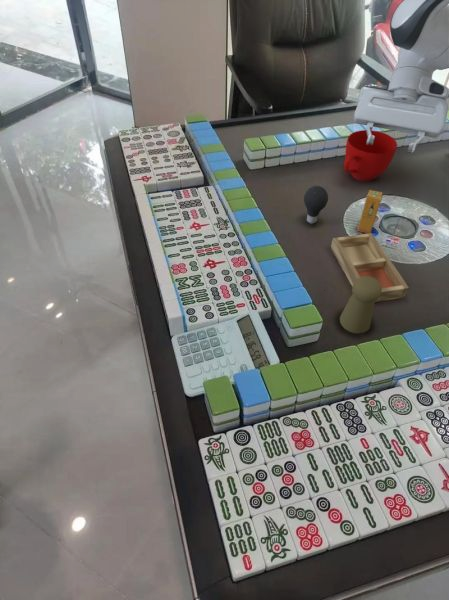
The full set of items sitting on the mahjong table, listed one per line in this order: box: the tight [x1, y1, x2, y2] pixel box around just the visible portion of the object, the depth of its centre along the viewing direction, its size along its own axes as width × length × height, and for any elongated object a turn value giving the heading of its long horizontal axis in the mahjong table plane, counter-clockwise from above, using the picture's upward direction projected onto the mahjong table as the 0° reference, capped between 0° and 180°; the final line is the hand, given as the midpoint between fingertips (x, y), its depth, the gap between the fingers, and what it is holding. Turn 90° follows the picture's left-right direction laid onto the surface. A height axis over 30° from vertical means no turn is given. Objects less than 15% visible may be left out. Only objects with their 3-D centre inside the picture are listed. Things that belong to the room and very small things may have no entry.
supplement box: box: [356, 189, 383, 234], centre depth 102 cm, size 3×3×10 cm
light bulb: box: [303, 185, 329, 225], centre depth 103 cm, size 6×6×10 cm
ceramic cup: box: [343, 129, 398, 182], centre depth 117 cm, size 13×17×10 cm
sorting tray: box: [330, 232, 409, 303], centre depth 94 cm, size 10×18×3 cm, turn 11°
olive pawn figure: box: [339, 276, 382, 334], centre depth 82 cm, size 6×6×11 cm
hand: (389, 148), depth 101 cm, fingers open, 8 cm apart
